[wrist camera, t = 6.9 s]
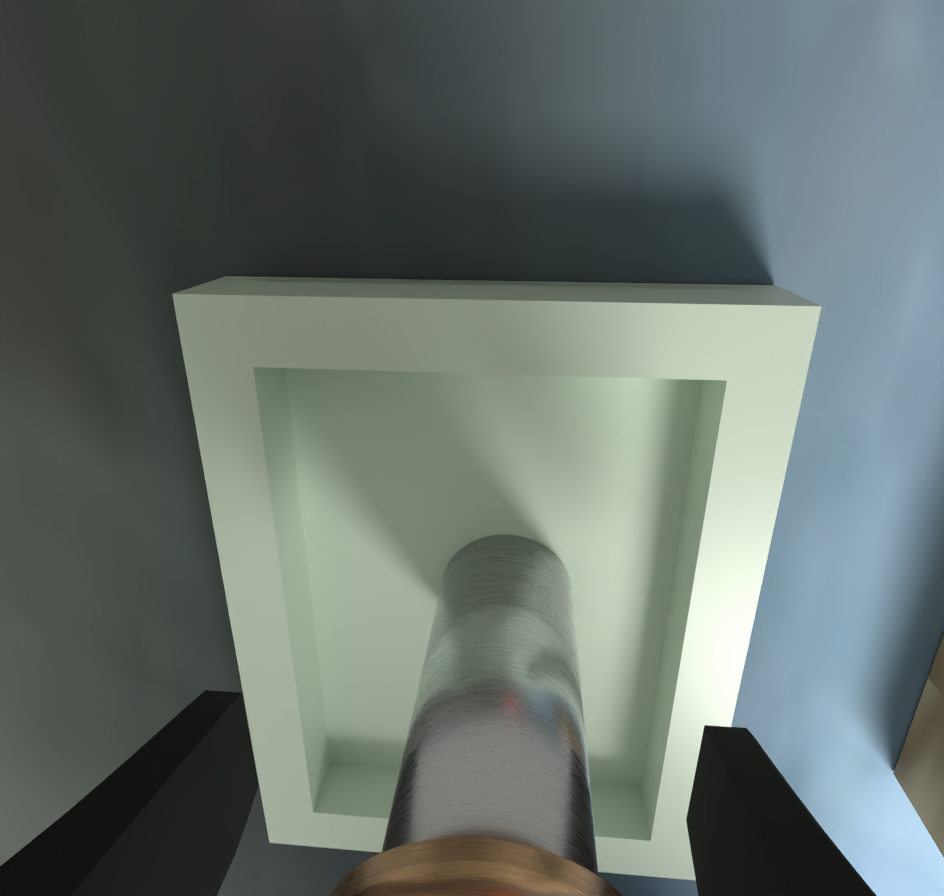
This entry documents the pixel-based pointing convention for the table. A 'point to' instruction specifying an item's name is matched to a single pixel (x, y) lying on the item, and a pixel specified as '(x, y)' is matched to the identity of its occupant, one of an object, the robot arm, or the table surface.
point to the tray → (490, 514)
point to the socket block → (927, 754)
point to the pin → (493, 742)
